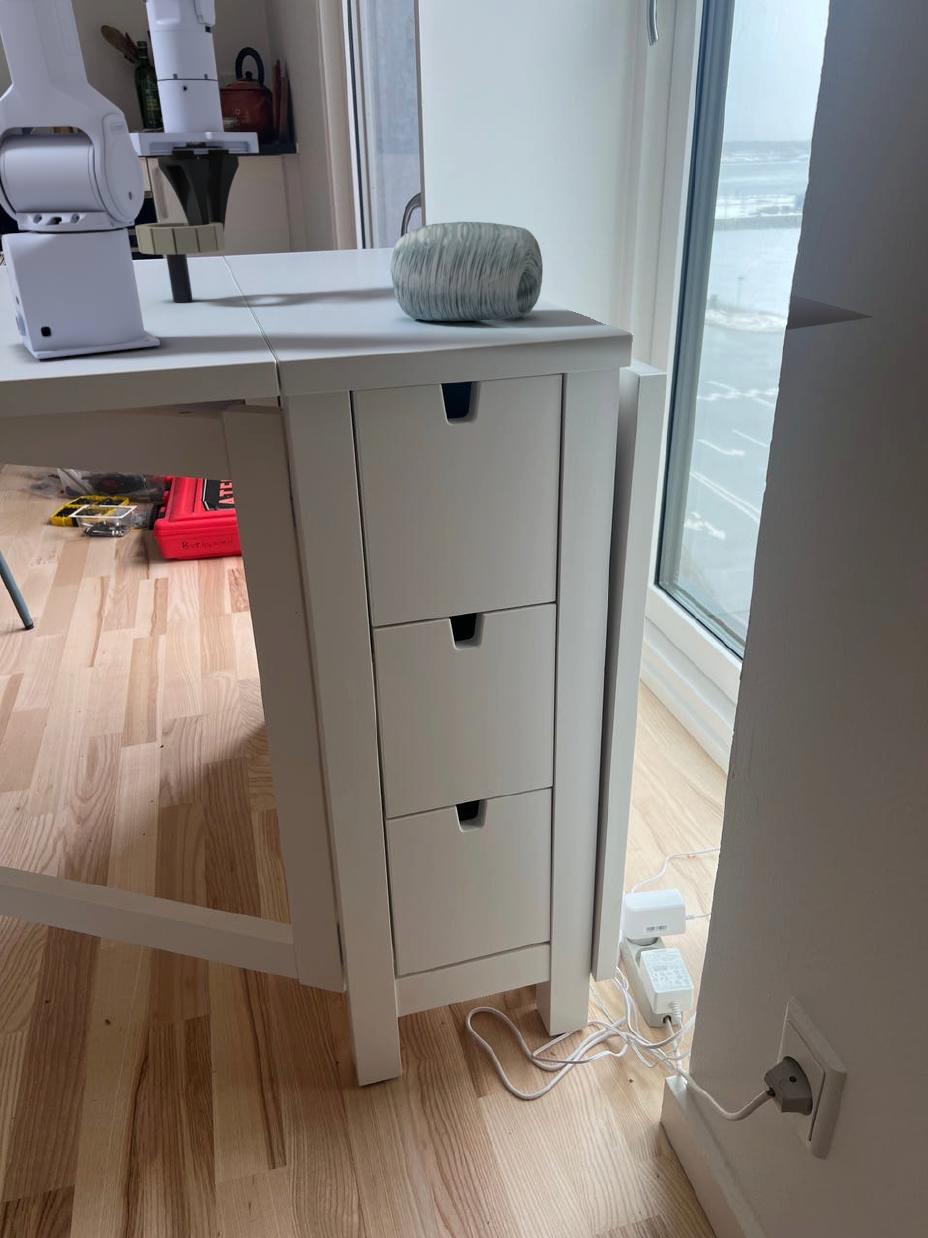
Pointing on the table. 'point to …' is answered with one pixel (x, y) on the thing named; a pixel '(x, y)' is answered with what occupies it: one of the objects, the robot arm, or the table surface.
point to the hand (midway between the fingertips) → (207, 232)
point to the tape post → (179, 277)
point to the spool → (466, 271)
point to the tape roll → (180, 238)
